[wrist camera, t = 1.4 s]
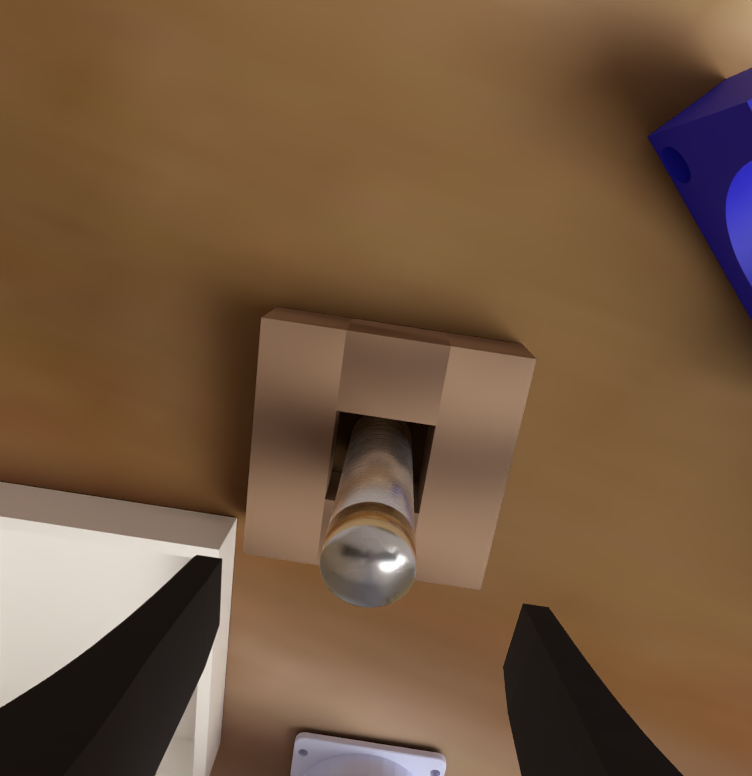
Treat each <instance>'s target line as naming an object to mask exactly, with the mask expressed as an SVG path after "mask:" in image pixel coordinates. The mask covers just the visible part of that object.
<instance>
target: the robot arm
mask: <svg viewBox="0 0 752 776" xmlns="http://www.w3.org/2000/svg"><path fill="white" fill-rule="evenodd" d="M221 580H222V558H215V557H208V556H202V555H196V556H194V557H193V558H192V559H191V560H190V561H189V562H188V563H187V564H186V565H184V566H183V567H182V568H181V569H180V570H179V571H178V572H177V573H176V574H175V575H174V576H173V577H172V578H171V579H170V580H169V581H168V582H167V583H166V584H165V585H163V586H162V587H161V588H160V589H159V590H158V591H157V592H156V593H155V594H154V595H153V596H151V597H150V598H149V599H148V600H147V601H146V602H145V603H143V604H142V605H141V606H140V607H139V608H138V609H137V610H135V611H134V612H133V613H132V614H131V615H130V616H129V617H127V618H126V619H125V620H124V621H123V622H121V623H120V624H119V625H118V626H116V627H115V628H114V629H113V630H111V631H110V632H109V633H108V634H106V635H105V636H104V637H103V638H101V639H100V640H99V641H98V642H96V643H95V644H94V645H93V646H91V647H90V648H89V649H87V650H86V651H85V652H83V653H82V654H81V655H79V656H78V657H77V658H75V659H74V660H72V661H71V662H70V663H68V664H67V665H65V666H64V667H62V668H61V669H60V670H58V671H57V672H55V673H54V674H52V675H51V676H49V677H48V678H46V679H45V680H43V681H42V682H40V683H39V684H37V685H36V686H34V687H32V688H31V689H29V690H28V691H26V692H25V693H23V694H21V695H20V696H18V697H17V698H15V699H14V700H12V701H10V702H9V703H7V704H5V705H4V706H2V707H0V776H155V775H156V772H157V770H158V767H159V765H160V763H161V761H162V759H163V757H164V755H165V752H166V750H167V748H168V746H169V744H170V742H171V740H172V737H173V735H174V733H175V731H176V729H177V727H178V725H179V722H180V720H181V718H182V716H183V714H184V712H185V710H186V708H187V705H188V703H189V701H190V699H191V697H192V695H193V692H194V690H195V688H196V686H197V684H198V682H199V680H200V677H201V675H202V673H203V671H204V669H205V666H206V663H207V660H208V657H209V655H210V652H211V649H212V646H213V643H214V640H215V637H216V634H217V631H218V628H219V625H220V604H221ZM503 669H504V680H505V691H506V700H507V708H508V715H509V720H510V725H511V729H512V734H513V739H514V743H515V748H516V753H517V757H518V762H519V766H520V771H521V775H522V776H683V775H682V774H681V773H680V772H679V771H678V769H677V768H676V767H675V766H674V765H673V764H672V763H671V762H670V761H669V760H668V759H667V758H666V757H665V756H664V755H663V754H662V752H661V751H660V750H659V749H658V748H657V747H656V746H655V745H654V744H653V743H652V741H651V740H650V739H649V738H648V737H647V736H646V735H645V734H644V732H643V731H642V730H641V729H640V728H639V726H638V725H637V724H636V723H635V722H634V720H633V719H632V718H631V717H630V716H629V714H628V713H627V712H626V711H625V710H624V709H623V707H622V706H621V705H620V704H619V702H618V701H617V700H616V699H615V697H614V696H613V695H612V694H611V692H610V691H609V690H608V688H607V687H606V686H605V684H604V683H603V682H602V680H601V679H600V678H599V677H598V675H597V674H596V673H595V671H594V670H593V669H592V667H591V666H590V665H589V663H588V662H587V660H586V659H585V658H584V656H583V655H582V654H581V652H580V651H579V649H578V648H577V647H576V645H575V644H574V642H573V641H572V640H571V638H570V637H569V635H568V634H567V633H566V631H565V630H564V628H563V627H562V626H561V624H560V623H559V621H558V620H557V619H556V617H555V616H554V614H553V613H552V612H551V610H550V609H549V607H543V606H536V605H529V604H523V605H522V608H521V611H520V615H519V618H518V621H517V624H516V627H515V631H514V634H513V637H512V640H511V643H510V647H509V650H508V653H507V656H506V659H505V663H504V666H503ZM445 769H446V758H445V757H444V756H443V755H442V754H440V753H436V752H430V751H423V750H417V749H410V748H404V747H398V746H391V745H385V744H378V743H372V742H365V741H359V740H352V739H346V738H339V737H333V736H327V735H320V734H314V733H307V732H302V733H299V734H298V735H297V736H296V738H295V743H294V750H293V758H292V766H291V774H290V776H444V773H445Z"/></svg>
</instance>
